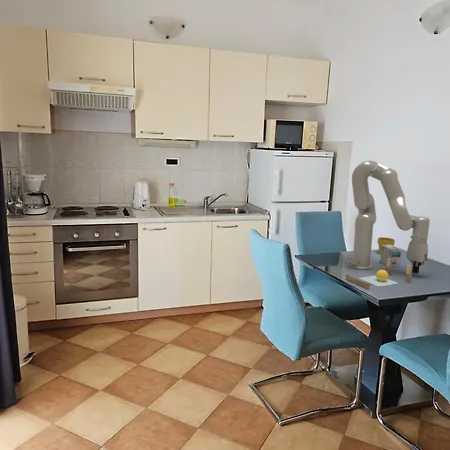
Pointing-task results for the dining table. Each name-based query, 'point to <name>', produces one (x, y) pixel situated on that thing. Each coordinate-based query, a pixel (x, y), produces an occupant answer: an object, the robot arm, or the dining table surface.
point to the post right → (408, 273)
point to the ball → (382, 275)
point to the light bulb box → (391, 255)
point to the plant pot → (385, 242)
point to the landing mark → (378, 283)
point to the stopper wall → (358, 281)
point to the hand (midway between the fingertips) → (415, 272)
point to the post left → (389, 266)
